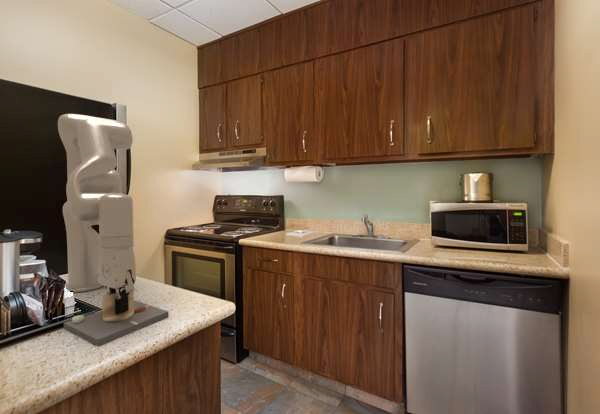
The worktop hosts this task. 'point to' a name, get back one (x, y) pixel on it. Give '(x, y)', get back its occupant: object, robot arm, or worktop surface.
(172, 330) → the worktop surface
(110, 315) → the levelling knob
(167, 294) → the worktop surface
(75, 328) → the base plate
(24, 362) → the worktop surface
